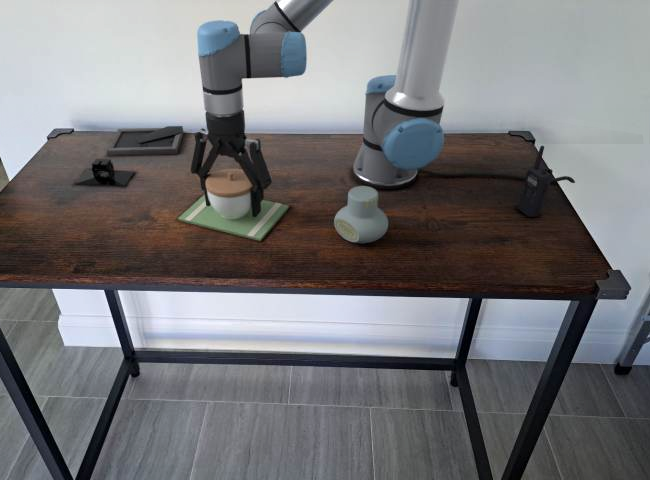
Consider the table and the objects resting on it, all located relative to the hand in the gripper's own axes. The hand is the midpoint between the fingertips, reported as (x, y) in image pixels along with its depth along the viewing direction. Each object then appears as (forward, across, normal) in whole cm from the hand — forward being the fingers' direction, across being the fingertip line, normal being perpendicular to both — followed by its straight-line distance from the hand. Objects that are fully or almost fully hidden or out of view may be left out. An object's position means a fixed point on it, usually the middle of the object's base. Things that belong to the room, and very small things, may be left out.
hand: (233, 208), depth 121 cm
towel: (+1, 0, 0) cm, 1 cm away
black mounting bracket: (+2, +37, -2) cm, 37 cm away
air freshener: (+2, -28, -3) cm, 28 cm away
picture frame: (+2, +39, -22) cm, 45 cm away
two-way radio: (+1, -59, -26) cm, 65 cm away
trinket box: (+1, 0, 0) cm, 1 cm away
